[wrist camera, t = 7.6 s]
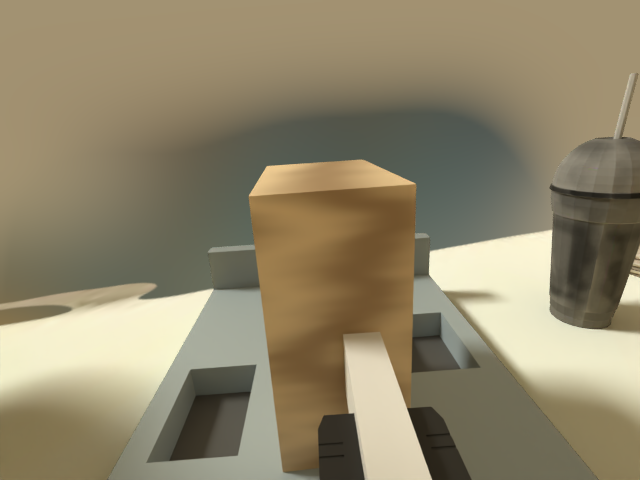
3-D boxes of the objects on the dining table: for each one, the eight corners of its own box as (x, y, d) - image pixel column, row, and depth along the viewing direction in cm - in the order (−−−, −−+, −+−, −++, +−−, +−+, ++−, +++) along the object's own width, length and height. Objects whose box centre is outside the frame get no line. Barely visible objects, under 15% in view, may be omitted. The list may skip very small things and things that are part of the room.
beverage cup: (514, 307, 34) (543, 80, 28) (564, 290, 37) (600, 79, 30) (598, 347, 27) (659, 64, 21) (650, 322, 30) (718, 65, 24)
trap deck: (-121, 1021, 8) (-305, 914, 6) (220, 304, 38) (211, 247, 36) (872, 916, 8) (1034, 778, 6) (423, 290, 38) (425, 233, 36)
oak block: (282, 472, 16) (248, 196, 12) (285, 345, 26) (267, 166, 22) (409, 457, 17) (416, 184, 13) (366, 337, 26) (362, 159, 22)
